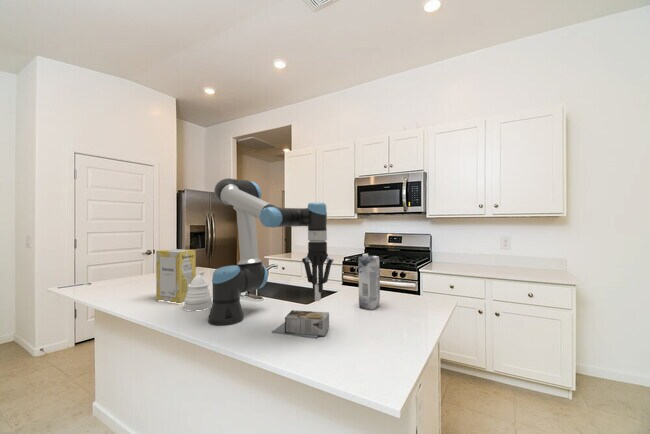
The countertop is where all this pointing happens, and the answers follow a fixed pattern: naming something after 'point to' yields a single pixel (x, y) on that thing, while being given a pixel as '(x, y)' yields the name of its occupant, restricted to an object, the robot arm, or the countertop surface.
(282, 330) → the mat
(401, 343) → the countertop surface
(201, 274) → the honey pot
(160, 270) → the pasta box
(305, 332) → the coffee box
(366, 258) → the juice carton
